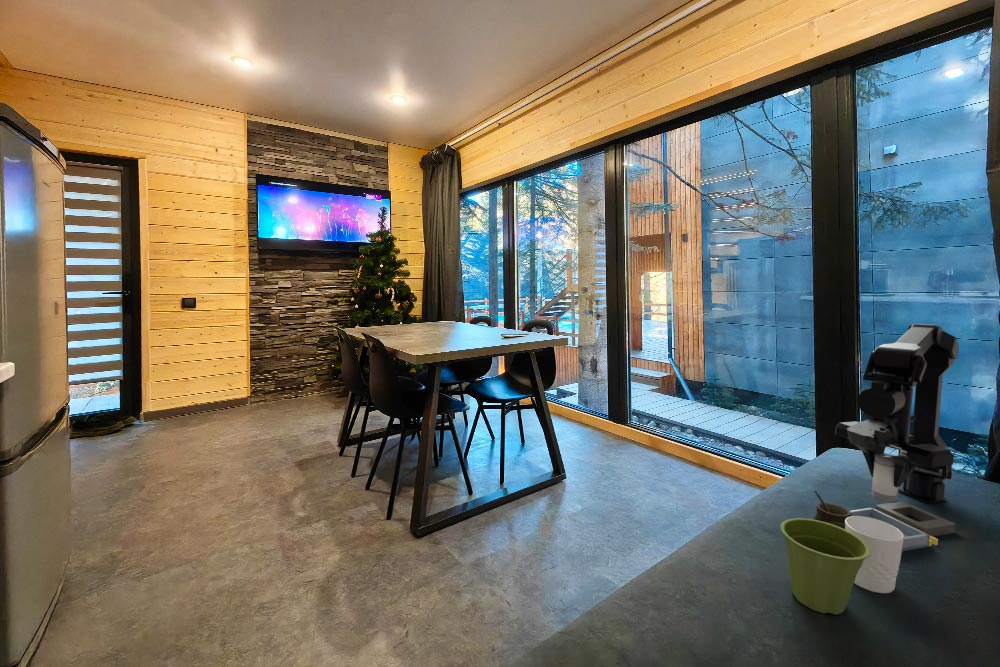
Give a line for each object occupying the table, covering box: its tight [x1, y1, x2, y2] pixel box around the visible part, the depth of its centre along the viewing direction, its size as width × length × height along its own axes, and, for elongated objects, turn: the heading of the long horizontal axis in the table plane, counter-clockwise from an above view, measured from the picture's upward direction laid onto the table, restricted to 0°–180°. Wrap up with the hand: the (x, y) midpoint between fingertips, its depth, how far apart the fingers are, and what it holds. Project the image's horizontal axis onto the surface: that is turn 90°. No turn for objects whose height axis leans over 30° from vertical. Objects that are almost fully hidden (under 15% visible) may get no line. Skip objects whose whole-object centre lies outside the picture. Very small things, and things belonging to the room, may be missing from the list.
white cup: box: [845, 516, 904, 594], centre depth 77 cm, size 8×8×10 cm
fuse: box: [871, 452, 899, 504], centre depth 91 cm, size 4×4×9 cm
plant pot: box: [780, 517, 870, 615], centre depth 73 cm, size 12×12×11 cm
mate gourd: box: [813, 490, 851, 529], centre depth 88 cm, size 7×8×10 cm
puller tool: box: [929, 536, 939, 547], centre depth 92 cm, size 9×2×1 cm, turn 12°
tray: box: [849, 507, 930, 552], centre depth 92 cm, size 11×9×2 cm
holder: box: [874, 500, 956, 537], centre depth 96 cm, size 10×8×2 cm
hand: (885, 482), depth 91 cm, fingers closed on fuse, 4 cm apart
